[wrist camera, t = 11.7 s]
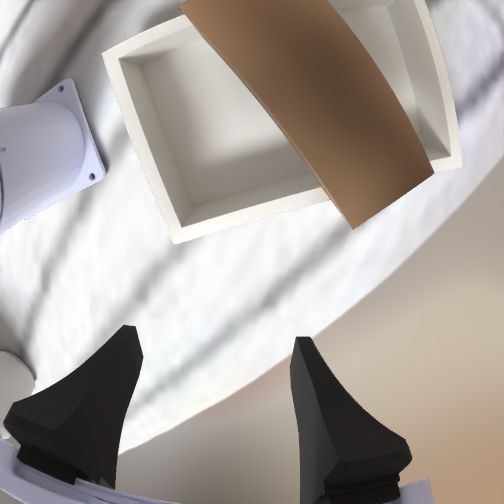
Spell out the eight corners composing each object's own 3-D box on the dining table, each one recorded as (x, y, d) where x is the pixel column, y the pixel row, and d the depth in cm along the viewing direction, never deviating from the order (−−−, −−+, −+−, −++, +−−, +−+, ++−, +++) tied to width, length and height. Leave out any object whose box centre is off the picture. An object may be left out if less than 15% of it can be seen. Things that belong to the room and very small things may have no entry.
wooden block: (324, 191, 15) (353, 229, 11) (202, 37, 11) (179, 7, 7) (384, 150, 14) (435, 173, 10) (269, -6, 10) (276, -50, 6)
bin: (188, 218, 20) (174, 244, 17) (129, 61, 15) (101, 53, 11) (430, 154, 18) (462, 167, 14) (389, -2, 13) (416, -19, 9)
